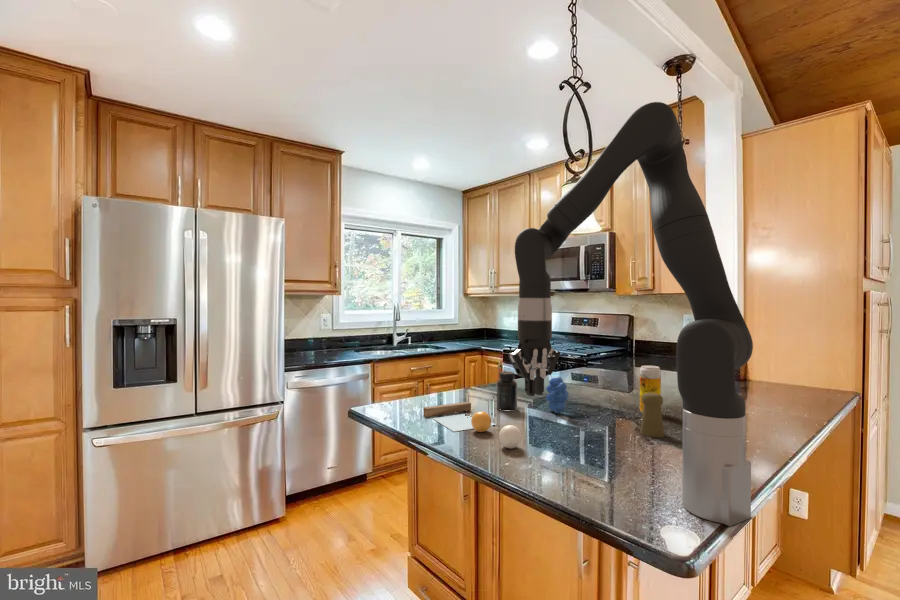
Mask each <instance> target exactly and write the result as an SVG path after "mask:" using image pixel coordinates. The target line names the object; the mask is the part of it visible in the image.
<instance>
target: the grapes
mask: <svg viewBox="0 0 900 600" xmlns="http://www.w3.org/2000/svg"><path fill="white" fill-rule="evenodd" d="M567 388H568V386H567V384H566V383H565V382H564V380H563V378H561V376H556V377H552V378H551V379H550V380H549V382H548V385H547V386H546V387H545V390H546V391H547V393H548V394H547V395H546V396H545V400H546V401H547V402H548V405H547V408H548V409H549V410H550V411H552V412H554V413H555V414H556V413H558V414H559V413H561V412H562V411H564V410H565V408H566V407H567V404H566V401H567V400H568V399H569V392H568V391H567Z"/></svg>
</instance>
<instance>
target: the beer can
mask: <svg viewBox="0 0 900 600" xmlns="http://www.w3.org/2000/svg"><path fill="white" fill-rule="evenodd" d="M639 368H640V369H639V411H640V412H641V414H642V415H643V409H644V404H643V402H642V396H643V394H645V393H657V394H659V395H661V396H662V392H661V391H662V390H661V389H662V381H661V380H662V379H661V378H662V372H661V368H660V366H656V365H649V364H648V365H647V364H646V365H641V366H640V367H639Z"/></svg>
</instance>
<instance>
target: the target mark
mask: <svg viewBox="0 0 900 600" xmlns="http://www.w3.org/2000/svg"><path fill="white" fill-rule="evenodd" d="M465 414H466V413H461V414H455V415H447V416H440V417H433V418H432V419H433V420H434V421H435V422H437V423H439V424H440V425H442V426H444V427H445V428H446V429H448V430H450V431H451V432H452V433H456V432H464V431H470V430H475V429H474V428H473V427H472V424H471V419H472V417H470V416H471V415H470V416H465ZM467 417H468V418H467ZM493 425H495V426H497V424H496V423H495V422H492V421H491V426H490V427H494V426H493ZM463 430H464V431H463Z"/></svg>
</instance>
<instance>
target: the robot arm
mask: <svg viewBox="0 0 900 600" xmlns="http://www.w3.org/2000/svg"><path fill="white" fill-rule="evenodd" d="M683 147H684V145H683V138H682V130H681V126H680V124H679V121H678V118H677V116H676V113H675V111H674V110H673V109H672V107H671V106H670V105H668V104H666V103H665V102H661V101H654V102H648V103H645V104H644V105H642V106H640V107H638V108H637V109H636V110H634V112H632V114H631V115H630V116H629V117H628V118H627V120H626V121H625V122H624V123H623V125H622V126H621V127H620V129H619V130H618V131H617V133H616V134H615V135H614V137H613V138H612V139H611V141H610V142H609V143H607V145H606V147H605V148H604V149H603V150H602V152H601V153H600V154H599V156H598V157H596V160H595V161H594V162H593V163H592V165H591V166H590V167H589V168H588V169H587V171H585V172H584V174H583V175H582V176H581V177H580V178H579V179H578V181H576V182H575V184H573V186H572V187H571V188H570V189H568V191H567V192H566V193H564V195H562V197H560V199H558V200H557V201H556V202H555V204H553V205H552V206H551V207H550V208H549V210H548V212H547V214H546V216H547V217H546V220H545V221H544V222H542V224H541V225H540V227H539V228H536V227H535V228H534V227H528V228H524V229H523V230H522V231H520V232H519V233H518V235H517V237H516V239H515V243H514V258H515V264H516V270H517V273H518V279H519V281H518V283H519V284H518V297H519V298H518V306H517V338H518V344H517V349H516V350H515V351H514V352H509V353H508V355H507V357H508V359H509V361H510V363H511V365H512V367H513V369H514V371H515V373H516V374H517V376H519V377H522V378H523V379H524V392H525V394H526V395H527V396H530V397H534V396H535V395H537V396H542V395H543V394H544V392H545V379H546V377H547V376H551V375H552V374H553V371H554V369H555V367H556V365H557V363H558V361H559V358H560V356H561V352H560V351H558V350H555V349H554V348H553V347H552V343H551V340H552V338H553V329H552V328H553V309H552V299H551V298H552V295H551V294H552V293H551V292H552V289H551V288H552V287H551V286H552V281H551V276H550V275H549V273H548V271H547V268H546V267H547V266H546V265H547V264H546V260H548V259H550V258H551V257H552V256H553V255H554V254H555V253H556V252H557V251H558V250H559V249H560V248H561V247H562V245H563V244H564V243H565V242H566V240H567V239H568V237H569V236H570V235H571V233H572V232H574V231H575V230H576V229H577V228H579V226H581V224H582V223H584V222H585V221H586V220H587V219H588V218H589V217H590V216H591V215H592V214H593V213H594V212H596V210H597V209H598V207H599V206H600V205H601V203H602V202H603V201H604V199H605V198H606V197H607V195H608V193H609V191H610V190H611V188H612V187H613V185H614V184H615V183H616V181H617V180H618V179H619V178H620V176H621V175H622V174H623V173H624V172H625V171H626V170H627V169H628V168H629V167H630V166H631V165H632V164H633V163H634V162H636V161H637V162H638V164H639V166H640V168H641V171H642V173H643V175H644V178H645V181H646V184H647V187H648V191H649V200H650V201H649V202H650V217H651V225H652V230H653V234H654V238H655V242H656V245H657V248H658V252H659V255H660V258H661V260H662V261H663V263H664V265H665V267H666V268H667V269H668V270H669V272H670V274H671V275H672V277H673V278H674V279H675V281H676V282H677V283H678V285H679V286H680V287H681V289H682V290H683V292H684V294H685V296H686V297H687V300H688V302H689V305H690V308H691V311H692V314H693V319H694V321H690V322H688V323H687V324H686V325H685V326H683V327H682V329H681V330H680V332H679V334H678V337H677V340H676V352H675V353H676V356H675V357H676V375H677V380H676V381H677V388H678V392H679V395H680V396H681V400H682V449H681V450H682V452H681V453H682V466H681V467H682V468H681V469H682V471H681V473H682V475H681V476H682V477H681V478H682V479H681V481H682V484H681V485H682V488H681V489H682V490H681V491H682V492H681V493H682V496H681V497H682V499H681V502H682V506H683V507H684V508H685V510H686V511H688V512H689V513H691V514H693V515H695V516H697V517H699V518H700V519H701V518H702V519H704V520H706V521H711V522H715V523H720V524H722V525H723V524H724V525H726V526H728V527H732V526H734V525H736V524H739V523H742V522H744V521H747V520H749V519H751V518H752V463H751V461H750V460H748V459H746V400H745V399H744V397H742V396H741V395H739V394H738V391H737V389H736V378H735V377H736V376H735V375H736V374H735V370H737V369H740V368H742V367H743V366H744V365H746V364H747V363H748V362H749V360H750V359H751V357H752V354H753V349H754V344H753V337H752V335H751V333H750V332H751V331H750V329H749V328H748V325H747V324H746V321H745V319H744V316H743V315H742V313H741V311H740V308H739V305H738V304H737V301H736V299H735V297H734V294H733V292H732V289H731V286H730V284H729V281H728V278H727V274H726V270H725V267H724V264H723V261H722V257H721V254H720V251H719V248H718V244H717V241H716V236H715V233H714V230H713V227H712V225H711V221H710V218H709V215H708V212H707V210H706V207H705V205H704V203H703V200H702V199H701V196H700V194H699V192H698V190H697V188H696V186H695V185H694V183H693V181H692V179H691V177H690V174H689V170H688V167H687V162H686V157H685V154H684V153H685V152H684V148H683Z"/></svg>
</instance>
